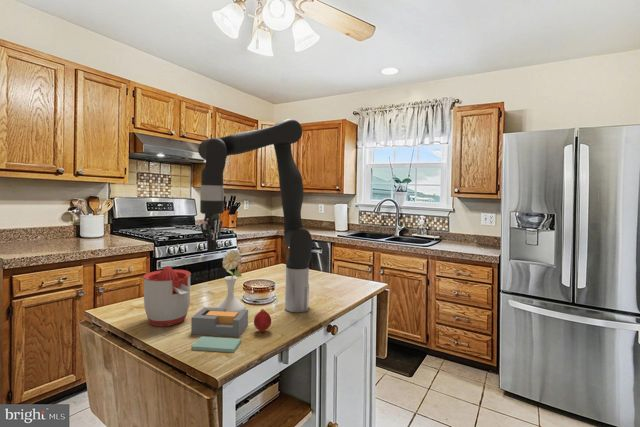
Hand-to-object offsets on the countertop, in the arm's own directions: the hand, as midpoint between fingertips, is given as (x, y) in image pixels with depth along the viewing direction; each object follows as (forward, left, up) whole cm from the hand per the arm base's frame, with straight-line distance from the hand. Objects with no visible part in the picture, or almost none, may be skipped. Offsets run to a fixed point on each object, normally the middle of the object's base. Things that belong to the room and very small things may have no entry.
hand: (211, 250), depth 114 cm
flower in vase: (-2, -15, -27) cm, 31 cm away
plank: (-4, 0, -24) cm, 24 cm away
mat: (-7, +12, -27) cm, 30 cm away
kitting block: (-4, 0, -27) cm, 27 cm away
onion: (-18, 0, -27) cm, 33 cm away
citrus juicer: (+17, -4, -27) cm, 32 cm away
